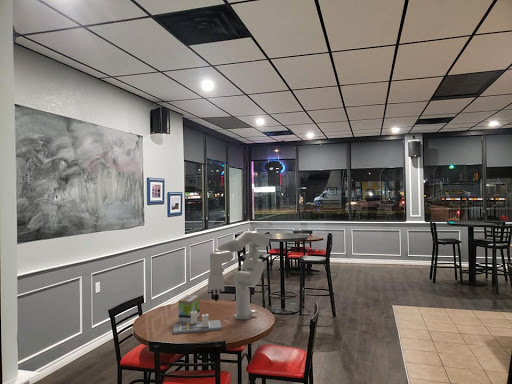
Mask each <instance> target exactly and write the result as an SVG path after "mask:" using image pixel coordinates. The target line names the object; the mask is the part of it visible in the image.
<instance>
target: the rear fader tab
mask: <svg viewBox="0 0 512 384" xmlns="http://www.w3.org/2000/svg"><path fill="white" fill-rule="evenodd" d="M197 322H198V318H197V311H193V312H191V324H197Z"/></svg>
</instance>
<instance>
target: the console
mask: <svg viewBox="0 0 512 384" xmlns="http://www.w3.org/2000/svg"><path fill="white" fill-rule="evenodd" d="M222 329H223V326H222V323H221V319H217V320H216V319H214V320H209V327H202V321H197V324H191V323H182V322H178V323H174V324H173V328H172V335H179V334H189V333H190V334H191V333H201V332H202V333H203V332H211V331H212V332H213V331H221V330H222Z"/></svg>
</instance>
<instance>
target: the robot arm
mask: <svg viewBox="0 0 512 384" xmlns="http://www.w3.org/2000/svg"><path fill="white" fill-rule="evenodd" d="M269 243H270V238H269V237H268V235H265V234H263V233H260V232H258V231H254V230H253V231H252V230H251V231H250V230H245V231H243V232H241V233H240V234H239V235H238V236H236V237H235V238H234V239H233V240H230V241H228V242H225V243H223V244H221V245H219V246H218V247H217V248H215V249H214V251H212V252H210V254H209V273H208V276H207V277H208V279H207V292H208V293H212V294H213V300H214V301H215V302H218V301H219V299H220V298H219V297H220V294H221V293H222V292H225V289H226V288H225V279H224V272H225V269H223V267H222V266H223V263H225V264H226V263H230V262H231V261H233V258H234V256H233V253H236V252H239V251H242V249H243V248H245V247H246V246H247V245H248V253H247V254H246V257H245V259H244V260H243V264H242V270H238V271H237V272H235V273H234V276H233V277H234V278H233V280H234V284H235V299H236V300H235V302H236V303H235V304H236V306H235V307H236V308H235V309H236V313H235V314H234V315H233V316H234V318H235V319H236V320H249V319H251V318H253V314H258V311H257V310H255V309H251V297H250V296H251V295H250V294H251V293H250V292H251V291H250V290H251V289H250V288H249V287H255V286H257V284H258V283H259V281H260V278H261V277H262V274H263V273H264V269H265V263H264V261H263V260H262V259H260V256H261V254H260V250H259V248H266V247H268V245H269ZM216 291H217V292H216Z"/></svg>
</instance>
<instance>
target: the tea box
mask: <svg viewBox="0 0 512 384" xmlns="http://www.w3.org/2000/svg"><path fill="white" fill-rule="evenodd" d="M200 296H201V295H194V294H191V295H190V294H189V295H188V294H187V295H185V296H184V297H182V298H181V299H179V300H178V323H191V312H193V311H197V319H198V318H199V317H200V315H201V313H200V312H201V310H200V309H201V308H200V307H201V306H200V305H201V304H200V303H201V302H200V299H201V297H200Z"/></svg>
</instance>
